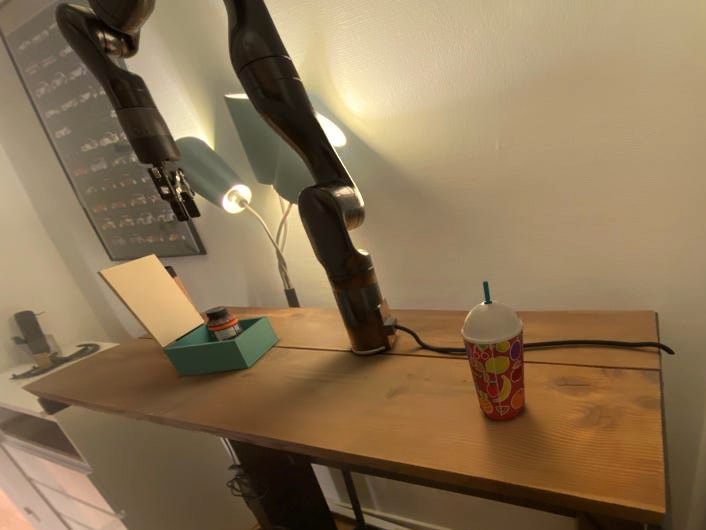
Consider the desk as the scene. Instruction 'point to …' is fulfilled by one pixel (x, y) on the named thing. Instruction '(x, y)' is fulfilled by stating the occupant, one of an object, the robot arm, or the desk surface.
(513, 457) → the desk surface
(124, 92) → the robot arm
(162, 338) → the lid
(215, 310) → the supplement bottle
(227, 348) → the teal open box
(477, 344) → the smoothie
